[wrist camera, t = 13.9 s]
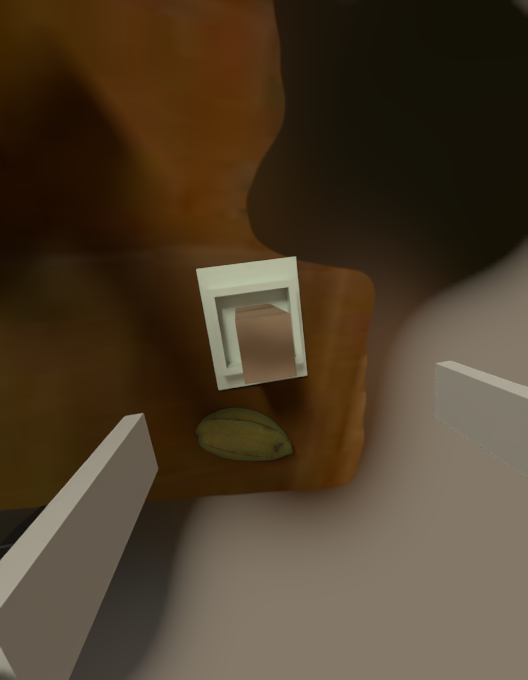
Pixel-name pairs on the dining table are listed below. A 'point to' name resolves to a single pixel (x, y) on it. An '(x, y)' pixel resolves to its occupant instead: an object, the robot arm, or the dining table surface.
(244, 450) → the fruit
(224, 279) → the holder plate
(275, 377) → the wooden square post
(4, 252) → the dining table surface
